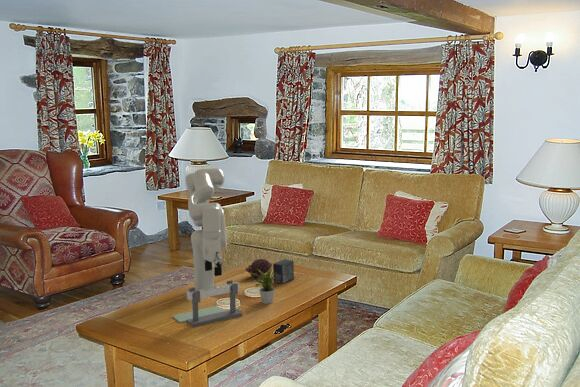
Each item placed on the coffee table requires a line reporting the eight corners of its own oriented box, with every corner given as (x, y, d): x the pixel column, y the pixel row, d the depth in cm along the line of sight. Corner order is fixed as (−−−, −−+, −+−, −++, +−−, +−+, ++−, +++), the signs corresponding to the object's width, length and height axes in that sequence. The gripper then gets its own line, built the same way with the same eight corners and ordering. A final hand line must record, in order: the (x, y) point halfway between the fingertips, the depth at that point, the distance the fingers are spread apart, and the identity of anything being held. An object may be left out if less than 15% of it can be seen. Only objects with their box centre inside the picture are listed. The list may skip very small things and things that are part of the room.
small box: (284, 277, 326) (284, 258, 325) (294, 279, 323) (294, 260, 321) (272, 282, 318) (272, 263, 316) (282, 284, 314) (282, 265, 312)
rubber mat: (172, 316, 271) (172, 315, 271) (230, 304, 286) (230, 302, 286) (180, 323, 263) (179, 321, 263) (239, 309, 278) (239, 308, 278)
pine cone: (266, 271, 337) (266, 254, 335) (278, 275, 330) (278, 257, 328) (241, 278, 325) (241, 260, 323) (253, 282, 318) (253, 264, 316)
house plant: (256, 295, 298) (255, 263, 295) (284, 296, 295) (283, 264, 293) (248, 305, 284) (247, 271, 282) (277, 306, 282) (276, 273, 279)
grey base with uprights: (186, 322, 263) (185, 288, 261) (236, 311, 276) (235, 279, 273) (192, 327, 258) (190, 292, 256) (242, 315, 271) (241, 282, 268)
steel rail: (186, 298, 260) (186, 292, 260) (236, 288, 273) (236, 282, 272) (189, 300, 258) (189, 293, 257) (239, 290, 270) (239, 283, 270)
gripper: (195, 232, 266) (197, 269, 268) (212, 239, 251) (213, 279, 254) (211, 230, 270) (212, 267, 272) (228, 237, 255) (229, 276, 258)
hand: (213, 273), depth 263 cm, fingers open, 9 cm apart
